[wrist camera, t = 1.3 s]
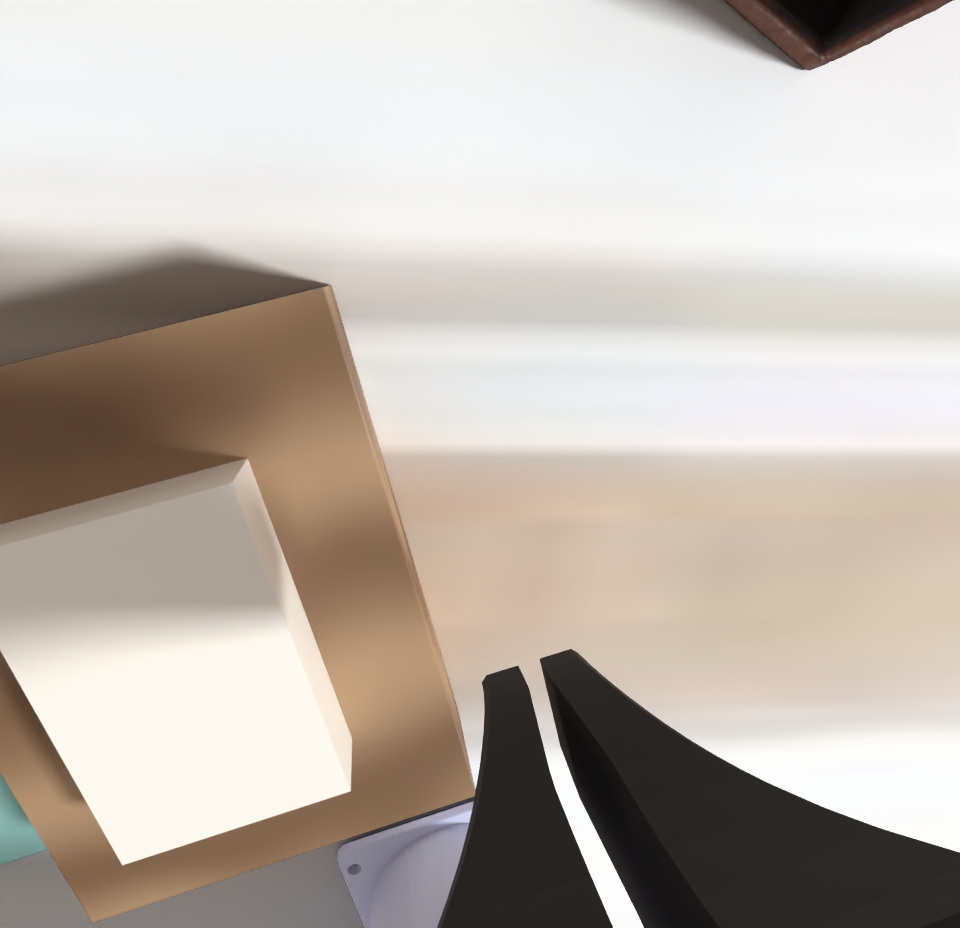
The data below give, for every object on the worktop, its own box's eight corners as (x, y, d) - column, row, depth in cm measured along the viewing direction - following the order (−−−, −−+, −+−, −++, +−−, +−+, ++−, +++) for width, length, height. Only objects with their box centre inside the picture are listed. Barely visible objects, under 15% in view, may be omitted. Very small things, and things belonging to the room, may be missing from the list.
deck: (458, 713, 24) (476, 795, 20) (137, 815, 23) (92, 923, 19) (331, 285, 19) (322, 287, 15) (-92, 388, 18) (-217, 420, 14)
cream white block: (352, 738, 19) (351, 791, 17) (147, 803, 18) (122, 865, 16) (247, 458, 16) (231, 483, 14) (0, 524, 15) (-52, 560, 13)
